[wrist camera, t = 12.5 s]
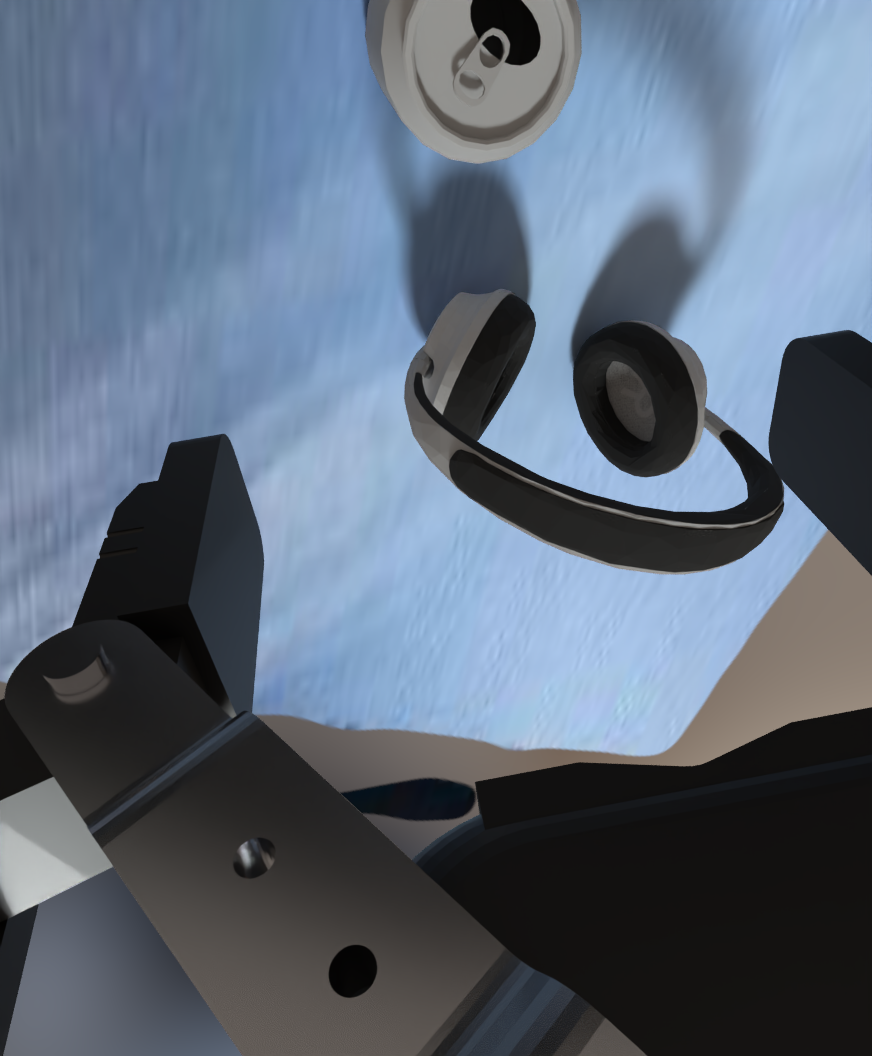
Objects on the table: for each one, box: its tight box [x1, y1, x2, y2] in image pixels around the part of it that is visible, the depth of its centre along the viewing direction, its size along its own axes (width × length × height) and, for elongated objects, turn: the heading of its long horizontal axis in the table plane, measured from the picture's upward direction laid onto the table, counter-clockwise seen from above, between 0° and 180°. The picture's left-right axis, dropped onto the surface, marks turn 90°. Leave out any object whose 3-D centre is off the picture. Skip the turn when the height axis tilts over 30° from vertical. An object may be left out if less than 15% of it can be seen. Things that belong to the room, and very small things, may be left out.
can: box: [365, 0, 581, 164], centre depth 31 cm, size 8×8×12 cm
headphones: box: [404, 289, 784, 574], centre depth 38 cm, size 19×8×20 cm, turn 76°
